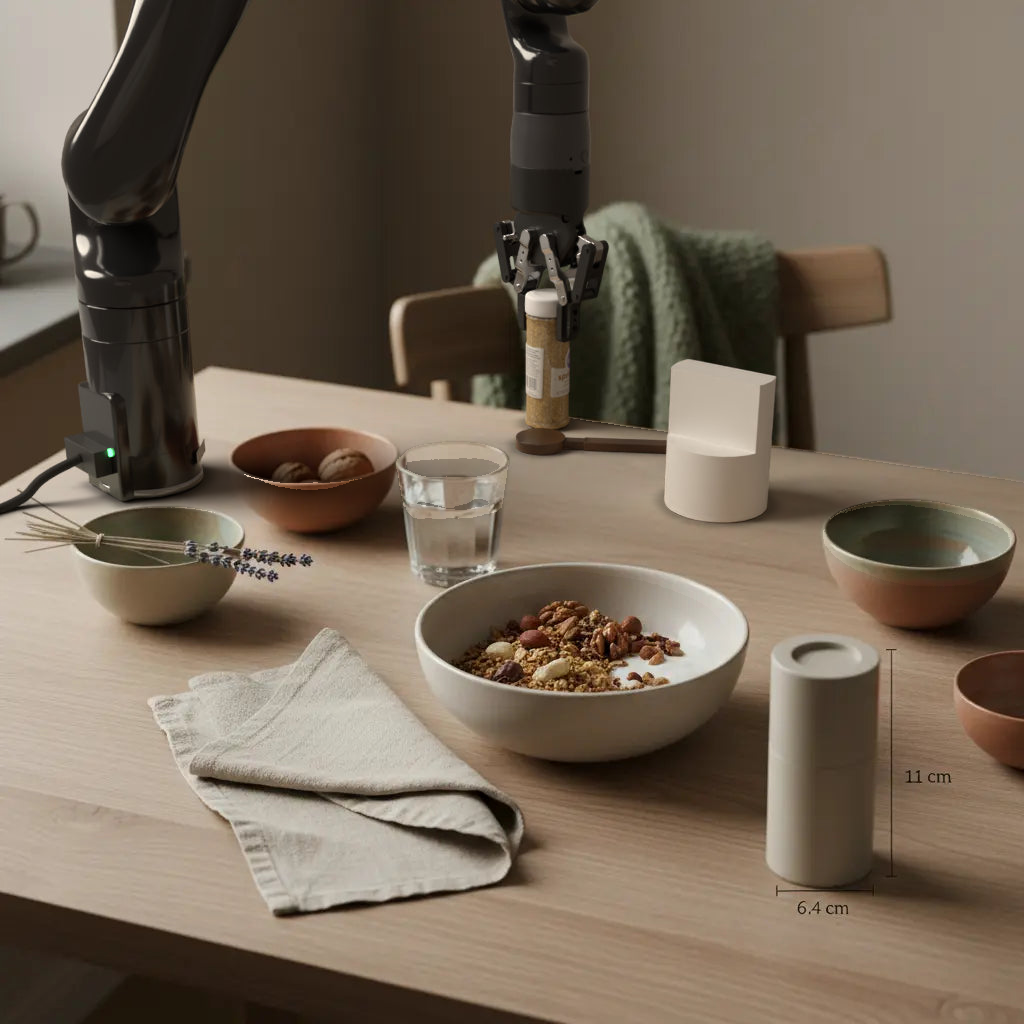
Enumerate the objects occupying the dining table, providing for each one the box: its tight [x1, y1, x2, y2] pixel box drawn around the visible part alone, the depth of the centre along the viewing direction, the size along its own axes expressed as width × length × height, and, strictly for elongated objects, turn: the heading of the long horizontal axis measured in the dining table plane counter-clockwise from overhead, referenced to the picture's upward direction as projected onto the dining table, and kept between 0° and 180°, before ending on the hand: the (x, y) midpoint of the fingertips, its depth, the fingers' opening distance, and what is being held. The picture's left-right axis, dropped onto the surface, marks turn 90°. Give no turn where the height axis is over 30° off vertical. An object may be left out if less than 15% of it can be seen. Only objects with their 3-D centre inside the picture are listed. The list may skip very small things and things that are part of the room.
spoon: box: [515, 427, 667, 456], centre depth 145 cm, size 18×5×1 cm, turn 85°
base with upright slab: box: [663, 358, 777, 524], centre depth 131 cm, size 9×9×12 cm
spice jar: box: [524, 288, 571, 430], centre depth 149 cm, size 5×5×14 cm
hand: (548, 333), depth 148 cm, fingers open, 4 cm apart
